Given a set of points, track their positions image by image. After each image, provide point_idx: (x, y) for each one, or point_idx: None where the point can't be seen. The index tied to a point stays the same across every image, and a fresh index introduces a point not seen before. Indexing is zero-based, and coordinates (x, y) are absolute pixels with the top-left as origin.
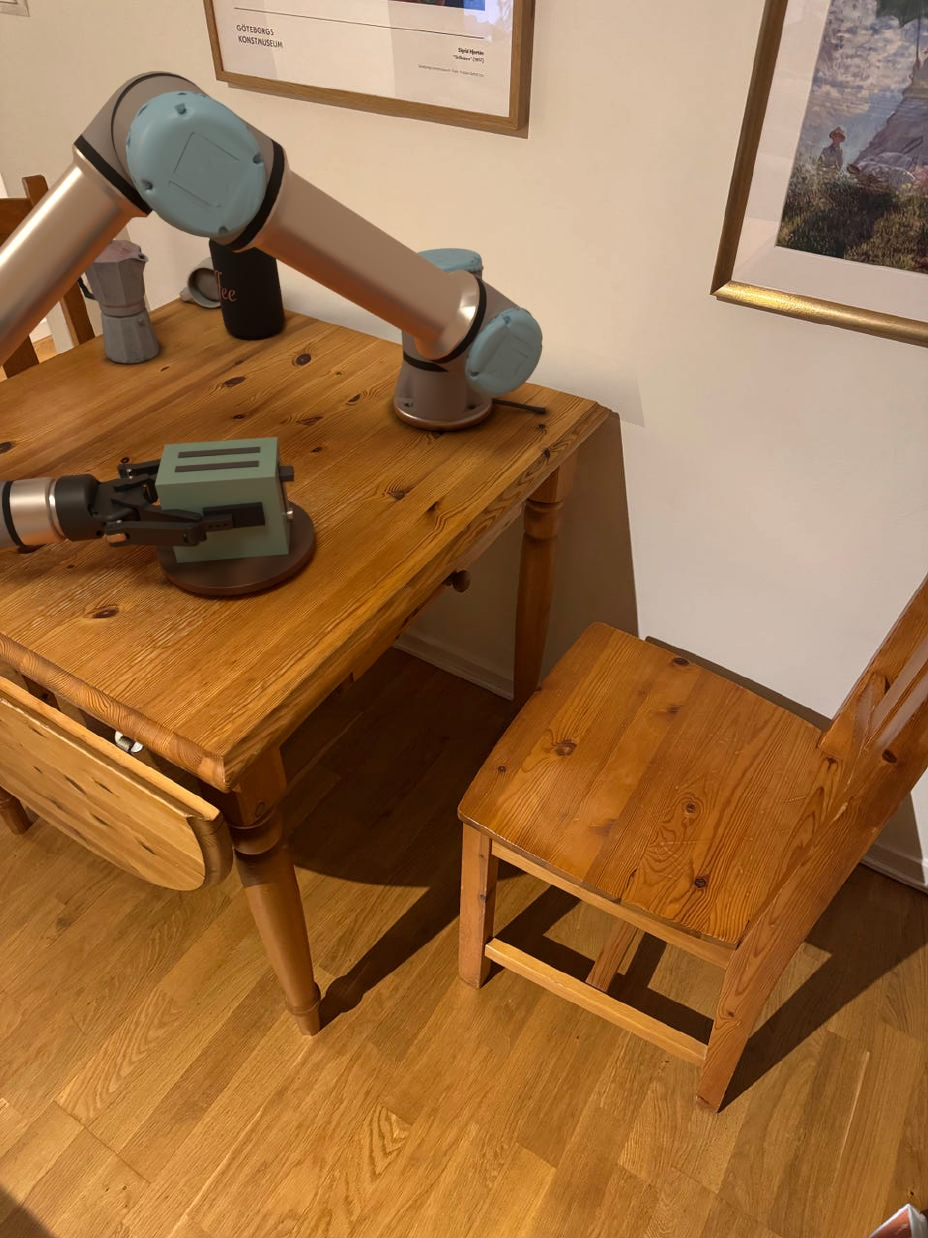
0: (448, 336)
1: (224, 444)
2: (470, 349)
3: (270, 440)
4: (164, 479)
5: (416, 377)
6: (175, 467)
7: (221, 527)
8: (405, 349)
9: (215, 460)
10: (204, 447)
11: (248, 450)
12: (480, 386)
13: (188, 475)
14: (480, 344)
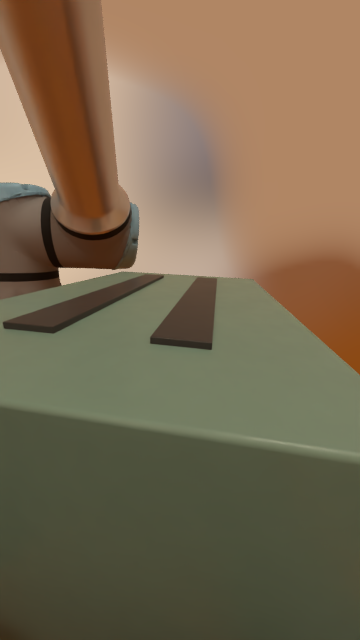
0: (121, 208)
1: (85, 286)
2: (130, 222)
3: (129, 273)
4: (315, 392)
5: (27, 290)
6: (163, 339)
7: None
8: (4, 269)
9: (162, 294)
10: (58, 297)
11: (151, 277)
12: (136, 252)
13: (249, 326)
14: (137, 216)
